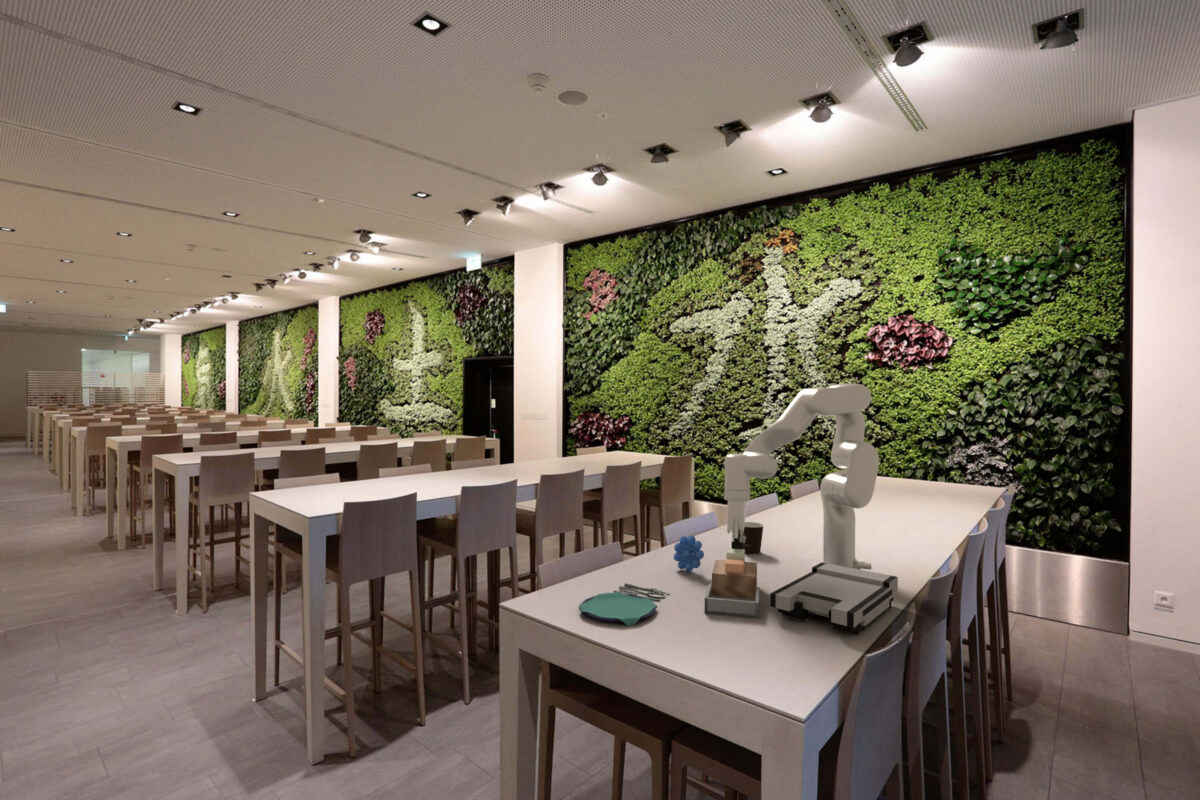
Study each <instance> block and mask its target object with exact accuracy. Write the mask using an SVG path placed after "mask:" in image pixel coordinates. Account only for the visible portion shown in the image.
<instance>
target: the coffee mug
mask: <svg viewBox="0 0 1200 800" xmlns="http://www.w3.org/2000/svg"><path fill="white" fill-rule="evenodd" d="M763 531H764V524H763V523H761V522H754V521H753V522H752V521H745V527H744V532H743V533H742V541H743V543H742V549H743V550H745V555H749V554H757V555H760V554H761V550H762V543H763V542H762V540H763ZM759 553H760V554H759Z"/></svg>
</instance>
